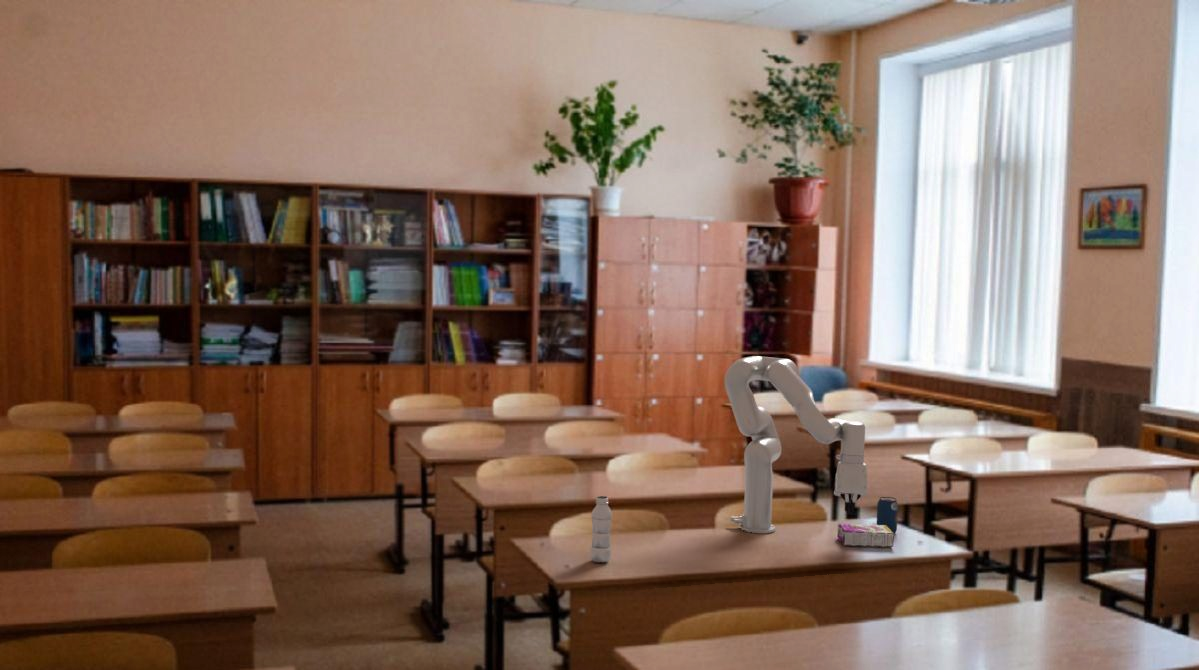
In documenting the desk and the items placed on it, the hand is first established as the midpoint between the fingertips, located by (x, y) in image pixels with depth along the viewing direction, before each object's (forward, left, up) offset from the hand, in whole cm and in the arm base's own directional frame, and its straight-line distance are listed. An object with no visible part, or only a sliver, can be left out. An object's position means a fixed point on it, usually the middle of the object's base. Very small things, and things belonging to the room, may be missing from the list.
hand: (849, 513), depth 356 cm
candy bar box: (-3, 0, -7) cm, 8 cm away
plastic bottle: (-81, -34, -10) cm, 88 cm away
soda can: (+16, +16, -10) cm, 25 cm away
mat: (+6, +2, -10) cm, 12 cm away
